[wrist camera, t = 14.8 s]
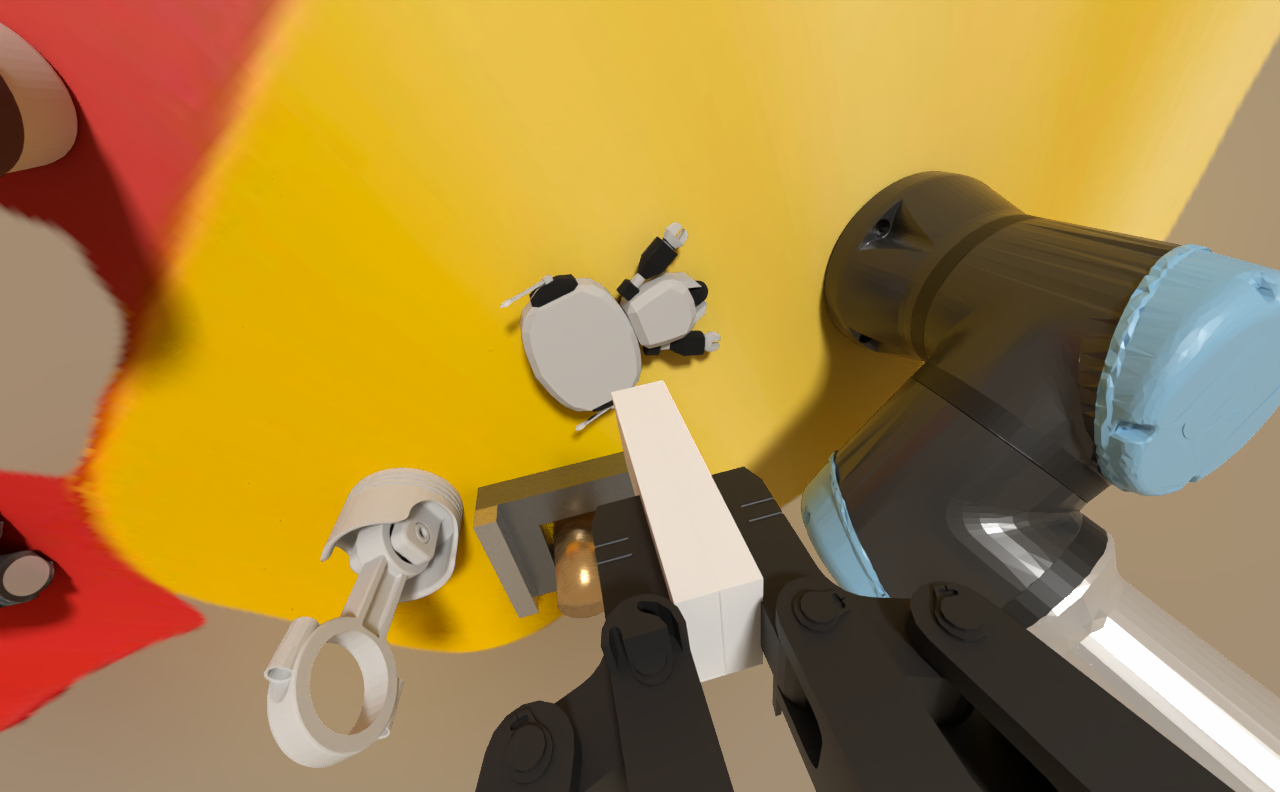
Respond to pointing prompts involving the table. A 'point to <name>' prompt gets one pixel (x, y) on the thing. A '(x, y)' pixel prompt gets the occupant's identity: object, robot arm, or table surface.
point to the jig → (541, 521)
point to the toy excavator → (23, 576)
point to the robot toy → (611, 327)
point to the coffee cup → (31, 108)
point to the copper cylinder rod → (577, 567)
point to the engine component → (366, 608)
